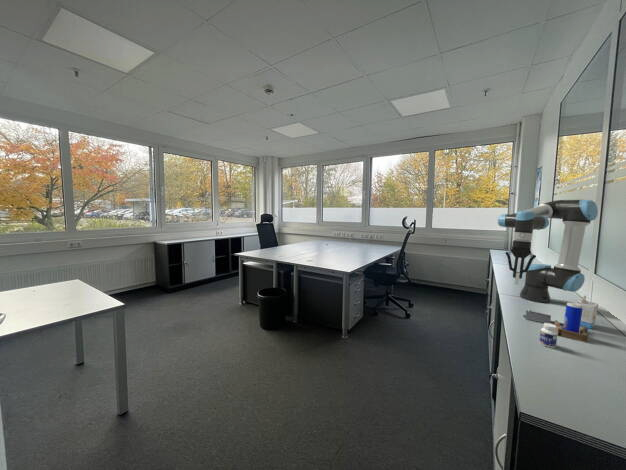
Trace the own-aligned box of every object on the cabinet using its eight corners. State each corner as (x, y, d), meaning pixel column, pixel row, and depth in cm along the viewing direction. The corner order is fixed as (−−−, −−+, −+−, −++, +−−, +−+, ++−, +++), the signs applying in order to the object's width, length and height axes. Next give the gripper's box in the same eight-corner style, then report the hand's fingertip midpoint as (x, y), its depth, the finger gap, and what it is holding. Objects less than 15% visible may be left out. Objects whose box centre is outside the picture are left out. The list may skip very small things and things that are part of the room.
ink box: (591, 329, 125) (596, 300, 124) (577, 325, 129) (581, 297, 128) (595, 325, 130) (599, 297, 128) (581, 321, 134) (585, 294, 132)
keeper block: (523, 316, 138) (523, 311, 138) (585, 330, 124) (585, 324, 124) (524, 327, 125) (525, 321, 125) (594, 344, 111) (595, 337, 110)
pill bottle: (536, 342, 110) (539, 323, 109) (543, 340, 112) (545, 321, 111) (551, 349, 105) (554, 328, 105) (558, 347, 108) (561, 326, 107)
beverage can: (562, 331, 122) (567, 301, 121) (578, 335, 119) (582, 304, 117) (562, 334, 119) (566, 303, 117) (578, 339, 115) (583, 307, 113)
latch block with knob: (525, 317, 136) (526, 308, 136) (549, 322, 131) (550, 313, 130) (525, 318, 135) (526, 309, 134) (549, 324, 129) (551, 314, 128)
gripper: (506, 239, 136) (501, 282, 138) (539, 242, 128) (532, 288, 130) (506, 238, 142) (501, 280, 144) (537, 241, 134) (531, 285, 136)
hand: (516, 284), depth 137 cm, fingers closed
